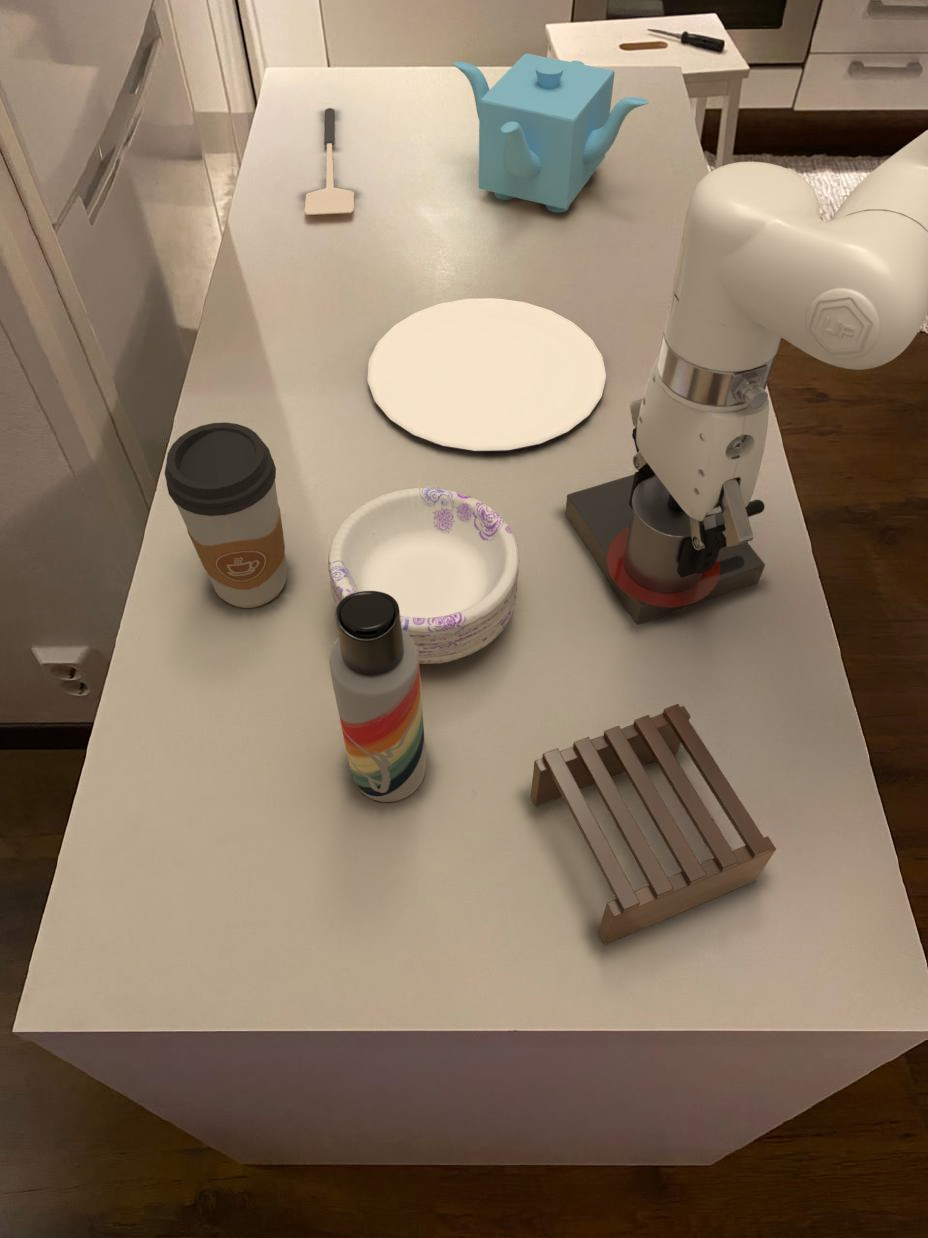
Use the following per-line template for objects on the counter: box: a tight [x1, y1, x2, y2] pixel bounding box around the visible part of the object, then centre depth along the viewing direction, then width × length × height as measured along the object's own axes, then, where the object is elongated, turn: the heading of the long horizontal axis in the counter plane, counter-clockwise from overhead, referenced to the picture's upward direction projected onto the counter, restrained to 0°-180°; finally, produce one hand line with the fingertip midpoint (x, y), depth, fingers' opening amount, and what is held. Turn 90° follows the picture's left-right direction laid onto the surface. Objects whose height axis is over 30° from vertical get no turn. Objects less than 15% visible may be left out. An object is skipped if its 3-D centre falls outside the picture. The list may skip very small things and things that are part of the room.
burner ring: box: [607, 527, 720, 607], centre depth 81 cm, size 10×10×1 cm
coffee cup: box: [164, 421, 288, 609], centre depth 77 cm, size 8×8×15 cm
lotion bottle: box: [328, 591, 427, 803], centre depth 64 cm, size 6×6×20 cm
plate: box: [366, 297, 607, 453], centre depth 99 cm, size 25×25×1 cm
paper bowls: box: [327, 487, 520, 665], centre depth 78 cm, size 15×15×8 cm
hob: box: [564, 473, 766, 626], centre depth 85 cm, size 14×16×3 cm
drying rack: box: [530, 703, 777, 946], centre depth 66 cm, size 12×12×6 cm
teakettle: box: [453, 52, 650, 213], centre depth 117 cm, size 19×19×15 cm
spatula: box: [303, 107, 355, 216], centre depth 126 cm, size 6×29×2 cm, turn 5°
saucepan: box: [623, 474, 766, 593], centre depth 78 cm, size 7×13×8 cm, turn 112°
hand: (670, 534), depth 78 cm, fingers closed on saucepan, 7 cm apart
